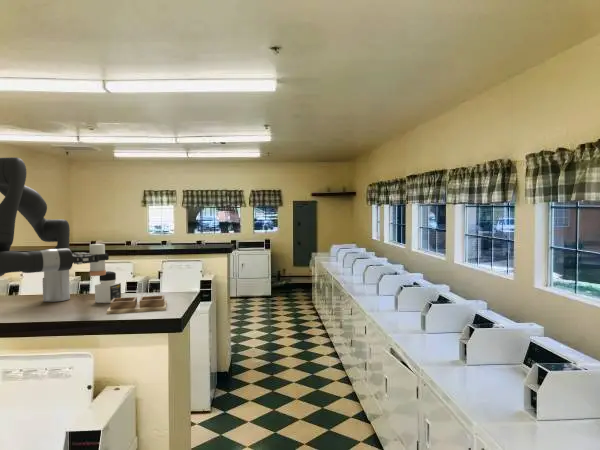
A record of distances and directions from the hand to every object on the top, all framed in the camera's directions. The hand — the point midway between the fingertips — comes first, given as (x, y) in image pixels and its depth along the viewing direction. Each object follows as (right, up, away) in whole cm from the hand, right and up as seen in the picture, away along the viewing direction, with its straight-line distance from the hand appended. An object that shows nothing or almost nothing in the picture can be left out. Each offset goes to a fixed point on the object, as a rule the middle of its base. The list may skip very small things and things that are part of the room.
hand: (104, 256), depth 167 cm
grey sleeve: (-2, -7, -2) cm, 7 cm away
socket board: (+11, -20, +4) cm, 23 cm away
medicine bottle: (-6, -20, +18) cm, 27 cm away
